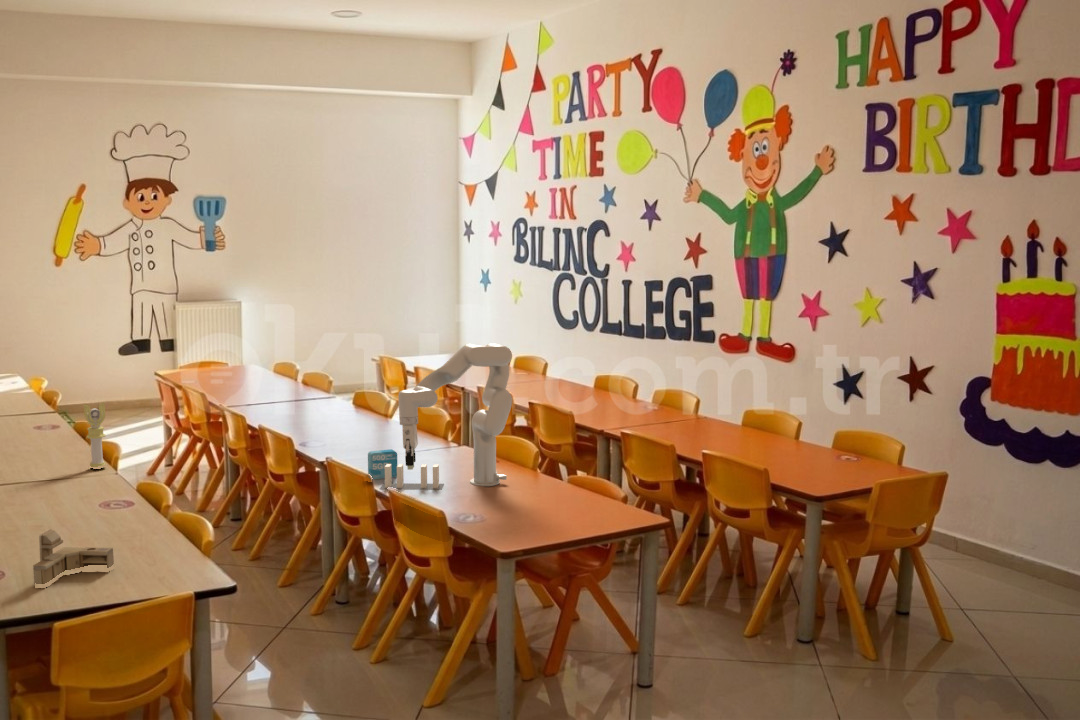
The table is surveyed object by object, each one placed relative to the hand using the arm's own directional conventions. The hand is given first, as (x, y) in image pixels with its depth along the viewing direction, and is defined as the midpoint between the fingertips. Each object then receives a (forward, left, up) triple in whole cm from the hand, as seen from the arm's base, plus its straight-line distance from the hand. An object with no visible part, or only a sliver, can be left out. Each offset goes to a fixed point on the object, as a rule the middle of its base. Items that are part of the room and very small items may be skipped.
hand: (410, 463), depth 415 cm
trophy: (+146, -37, -13) cm, 151 cm away
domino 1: (+11, -8, -12) cm, 18 cm away
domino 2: (+6, -8, -12) cm, 15 cm away
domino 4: (-4, -8, -12) cm, 15 cm away
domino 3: (0, 0, -2) cm, 2 cm away
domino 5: (-9, -8, -12) cm, 17 cm away
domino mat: (+1, -8, -12) cm, 15 cm away
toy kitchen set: (+90, +104, -13) cm, 139 cm away
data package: (+16, -24, -13) cm, 31 cm away
